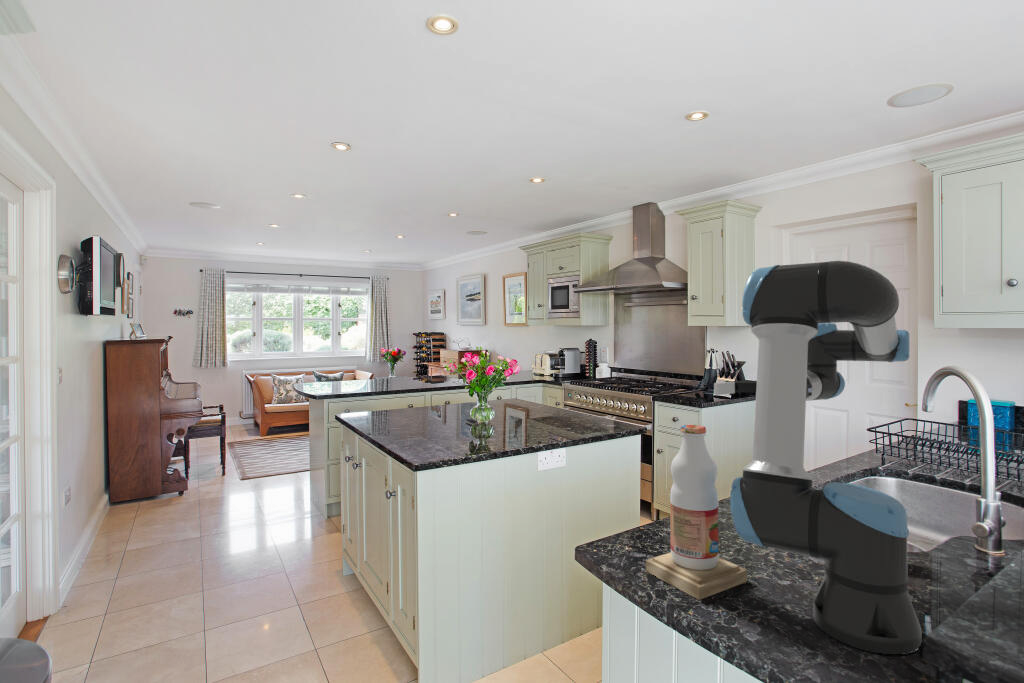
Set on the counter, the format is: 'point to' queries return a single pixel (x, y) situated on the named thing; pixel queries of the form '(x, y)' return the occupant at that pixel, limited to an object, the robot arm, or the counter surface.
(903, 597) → the robot arm
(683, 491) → the fruit juice
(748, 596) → the counter surface
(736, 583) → the board
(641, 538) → the counter surface
